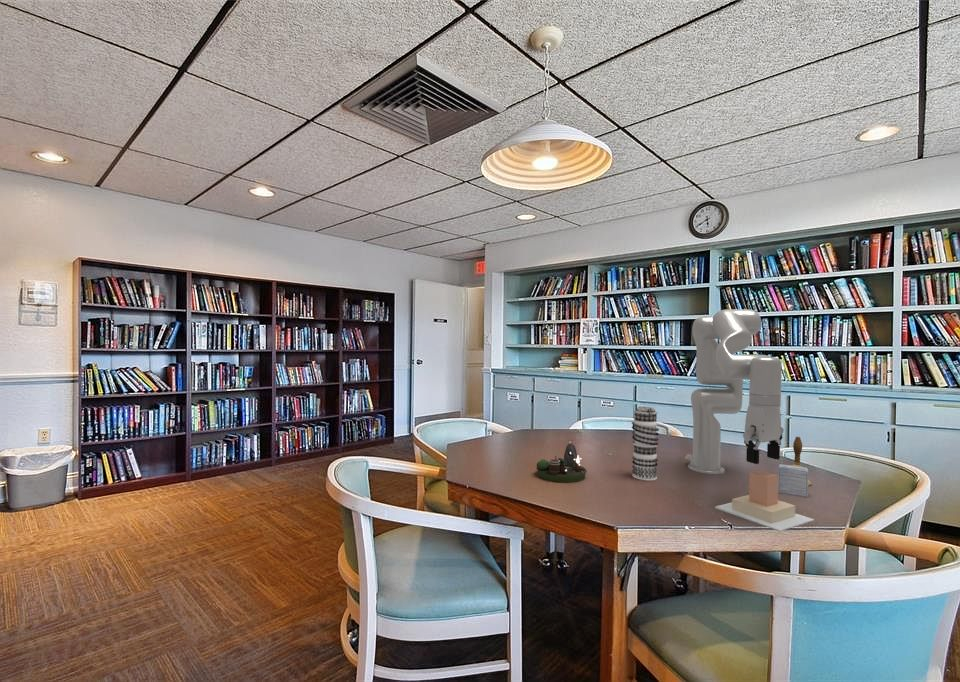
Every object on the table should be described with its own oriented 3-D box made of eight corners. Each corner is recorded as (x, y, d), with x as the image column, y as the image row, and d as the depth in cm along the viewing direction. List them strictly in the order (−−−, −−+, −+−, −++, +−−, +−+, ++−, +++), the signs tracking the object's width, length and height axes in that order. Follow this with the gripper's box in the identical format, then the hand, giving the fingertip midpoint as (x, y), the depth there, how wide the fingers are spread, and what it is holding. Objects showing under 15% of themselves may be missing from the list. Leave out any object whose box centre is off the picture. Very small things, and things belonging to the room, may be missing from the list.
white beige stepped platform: (715, 509, 131) (715, 496, 131) (748, 501, 138) (749, 488, 138) (780, 534, 115) (780, 518, 115) (814, 523, 122) (814, 508, 122)
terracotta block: (749, 500, 127) (749, 472, 127) (759, 497, 130) (760, 470, 130) (767, 506, 123) (767, 477, 123) (777, 503, 125) (778, 475, 125)
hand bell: (783, 477, 163) (784, 433, 163) (812, 482, 158) (812, 436, 157) (781, 482, 156) (782, 437, 156) (810, 487, 151) (811, 440, 151)
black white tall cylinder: (626, 473, 166) (627, 405, 165) (651, 472, 166) (652, 405, 166) (637, 481, 156) (638, 409, 156) (662, 480, 157) (663, 409, 157)
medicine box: (807, 494, 145) (807, 467, 145) (808, 498, 141) (808, 470, 141) (778, 489, 149) (778, 463, 149) (778, 493, 146) (778, 466, 146)
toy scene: (596, 476, 162) (596, 447, 162) (567, 487, 150) (567, 455, 150) (555, 465, 175) (556, 438, 175) (526, 475, 163) (526, 446, 163)
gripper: (769, 396, 133) (767, 453, 134) (732, 400, 125) (731, 461, 126) (796, 400, 127) (794, 460, 127) (759, 404, 119) (758, 468, 119)
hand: (763, 460), depth 127 cm, fingers open, 9 cm apart
